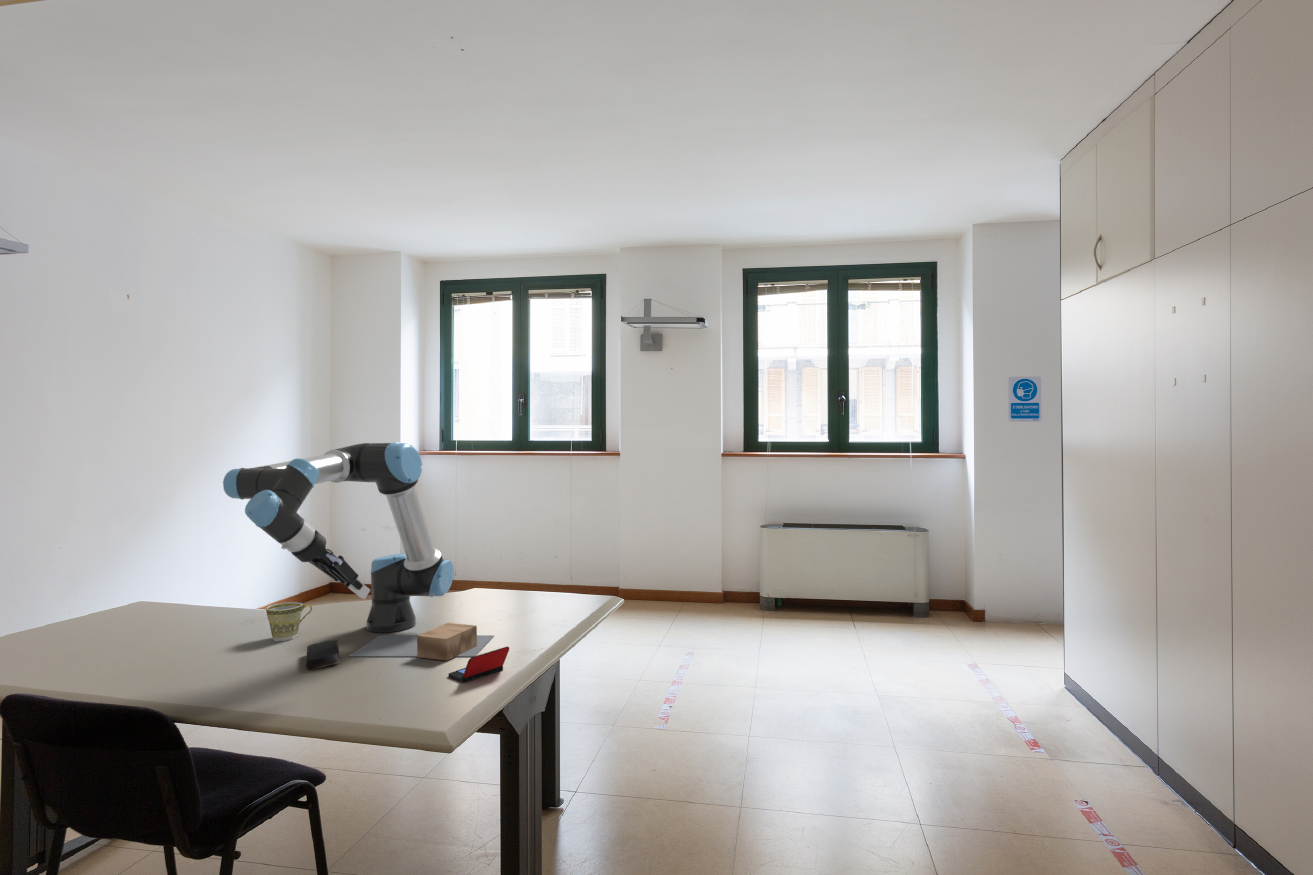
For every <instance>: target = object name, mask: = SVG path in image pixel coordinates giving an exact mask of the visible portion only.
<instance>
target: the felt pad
mask: <svg viewBox="0 0 1313 875" xmlns="http://www.w3.org/2000/svg"><path fill="white" fill-rule="evenodd" d="M494 637H495V635H494V634H493V635H492V634H491V635H487V634H485V635H483V634H482V635H481V634H480V635H478V634H477V646H476V647H474V648H472V649H470V650H468V651H466V652H464V653H462V654H460V655H458V656H456V657H455V658H471V657H474V656H477V655H479V653H480V652H481V651H482V650H483V649H484V648H485V647H486V646H487V645H488V644H489V643H490V641H491V640H492V639H494ZM348 657H349V658H418V657H417V634H416V635H413V634H412V635H411V634H409V635H408V634H407V635H401V634H399V635H398V634H397V635H396V634H395V635H393V634H392V635H389V634H388V635H387V634H386V635H385V634H383V635H381V634H380V635H378V636H377V637H375V638H373V639H372V640H371V641H369V642H367V643H366V644H365V645H363V646H362V647H360V648H358V649H356V651H354V652H353V653H352V654H350V655H349V656H348Z"/></svg>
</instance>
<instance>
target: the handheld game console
mask: <svg viewBox="0 0 1313 875" xmlns="http://www.w3.org/2000/svg"><path fill="white" fill-rule="evenodd" d="M509 652H510V647H509V646H504V647H500V648H498V649H494V650H490V651H488V652H484V653H480V654H477V655H476V656H474V657H469V659H468V661H467V662H466V666H465V667H464V668H461V669H457V670H455V671H451V672H449V673H448V678H449V679H452V680H454V681H457V682H460V683H462V684H465V683H468V682H470V681H474V680H478V679H480V678H482V677H485V676H490V675H493V674H497V673H499V672H503V671H504V664H505V661H506V660H507V657H508V655H509Z"/></svg>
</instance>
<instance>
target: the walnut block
mask: <svg viewBox="0 0 1313 875" xmlns="http://www.w3.org/2000/svg"><path fill="white" fill-rule="evenodd" d="M477 630H478V626H477V625H474V624H465V623H455V622H446V623H444V624H441V625H440V626H437V627H435V628H433V629H430V630H428V631H425V632H422V633H421V634H418V635H417V634H416V635H417V657H416V658H422V659H429V660H440V661H449V660H451V659H453V658H457V657H456V656H458V655H460V654H462V653H464V652H466V651H468V650H470V649H472V648H474V647H476V646H477V635H478V634H477V632H478V631H477Z"/></svg>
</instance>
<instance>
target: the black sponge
mask: <svg viewBox="0 0 1313 875" xmlns="http://www.w3.org/2000/svg"><path fill="white" fill-rule="evenodd" d="M305 660H306V661H305V667H306V669H307V670H314V669H320V668H323V667H327V666H332V665H336V664H337V665H338V664H339V663H340V661H341V656H340V650H339V640H338V639H334V640H325V641H320V642H317V643H314V644H309V645H307V647H306V659H305Z"/></svg>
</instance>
